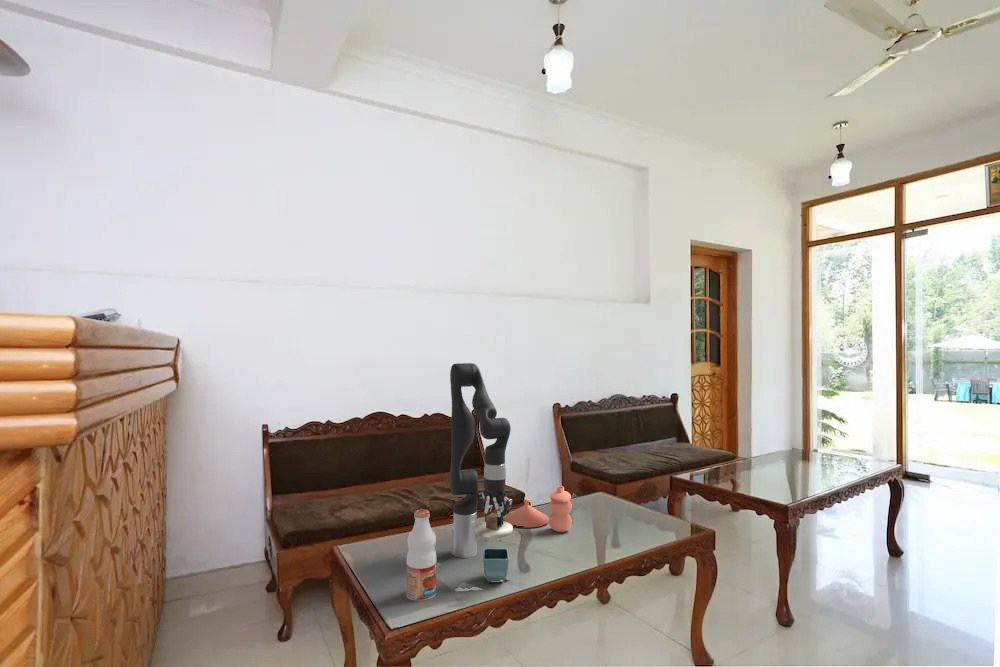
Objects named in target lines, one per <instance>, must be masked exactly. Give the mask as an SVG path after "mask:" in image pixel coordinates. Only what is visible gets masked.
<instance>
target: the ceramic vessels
mask: <svg viewBox="0 0 1000 667" xmlns="http://www.w3.org/2000/svg"><path fill="white" fill-rule="evenodd" d="M549 498H550V499H551V500H550V501H549V503H548V507H549V510H550V512H551V513H550V516H548V515H546V514H544V513H543V512H541V511H539V510H538V509H536V508H535V507H533V506H531V505H530V499H529V498H524V505H522V506H519V507H518V508H516V509H515V510H513V511H511V512H509V514H508V515H506V516H503V521H504V522H507V523H509V524H511V525H512V526H514V525H516V526H515V527H518V526H524V527H523V528H537V527H542V526H546V525H547V524H549V526H550V528H551V529H552V530H553V531H555V532H558V533H564V532H565V533H566V532H567V531H568V530H570V528H571V527H572V523H573V520H572V517H571V515H570V514H569V513H570V512H571V511H572V508H573V504H572V502H571V499H572V495H571V493H570V492H568V491H567V490H565V487H564V486H561V485H557V486H556V490H554V491H552V492H550V494H549Z"/></svg>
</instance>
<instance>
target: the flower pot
mask: <svg viewBox="0 0 1000 667" xmlns="http://www.w3.org/2000/svg"><path fill="white" fill-rule="evenodd" d="M482 551H483V552H482V556H483V559H482V561H483V573H484V576H485V579H486V581H487V583H489V582H491V581H500V580H504V581H505V580H506V578H507V575H508V570H509V562H510V555H509V549H508V548H483V549H482Z"/></svg>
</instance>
